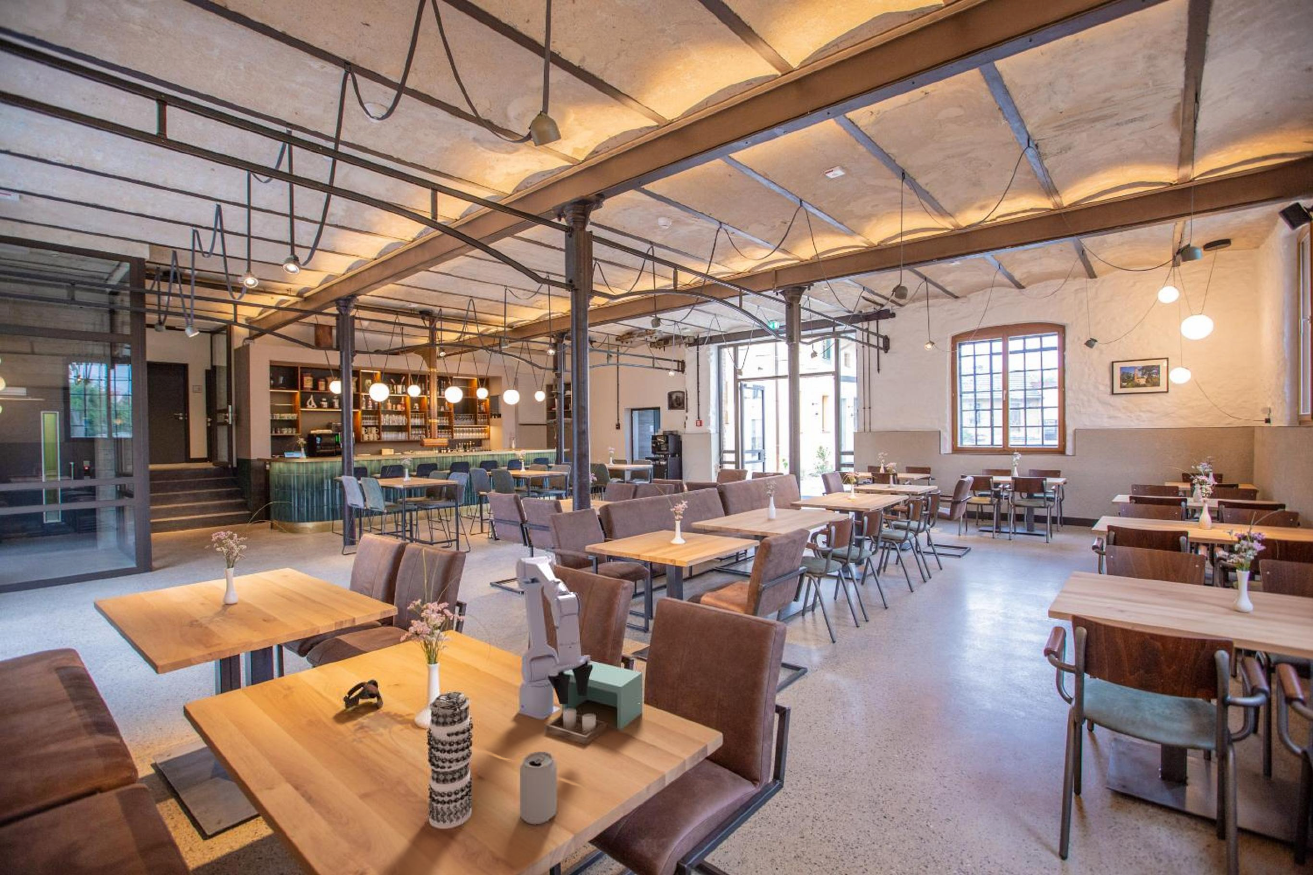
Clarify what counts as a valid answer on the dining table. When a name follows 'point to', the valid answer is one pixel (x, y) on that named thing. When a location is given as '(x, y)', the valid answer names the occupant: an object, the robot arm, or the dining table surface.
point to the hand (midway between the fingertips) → (573, 699)
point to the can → (538, 788)
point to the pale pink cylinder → (588, 723)
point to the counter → (610, 691)
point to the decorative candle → (450, 760)
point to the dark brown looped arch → (363, 694)
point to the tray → (575, 730)
